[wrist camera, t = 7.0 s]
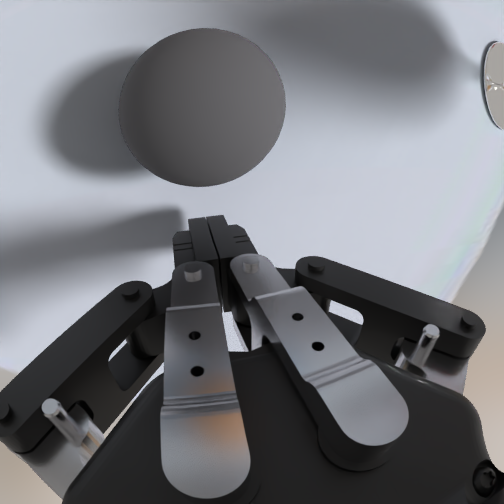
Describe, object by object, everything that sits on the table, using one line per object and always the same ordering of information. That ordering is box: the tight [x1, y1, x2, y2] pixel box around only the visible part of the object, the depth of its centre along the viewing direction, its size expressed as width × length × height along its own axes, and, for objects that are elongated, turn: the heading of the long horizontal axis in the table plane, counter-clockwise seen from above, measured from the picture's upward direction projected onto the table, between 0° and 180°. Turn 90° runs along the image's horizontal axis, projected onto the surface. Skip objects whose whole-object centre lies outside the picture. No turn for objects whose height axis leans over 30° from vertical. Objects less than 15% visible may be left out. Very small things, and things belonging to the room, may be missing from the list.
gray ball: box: [119, 28, 286, 187], centre depth 9 cm, size 6×6×6 cm
